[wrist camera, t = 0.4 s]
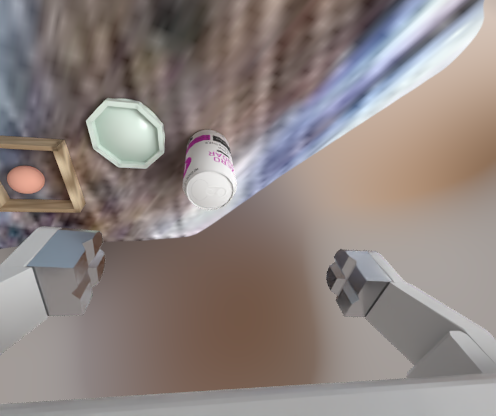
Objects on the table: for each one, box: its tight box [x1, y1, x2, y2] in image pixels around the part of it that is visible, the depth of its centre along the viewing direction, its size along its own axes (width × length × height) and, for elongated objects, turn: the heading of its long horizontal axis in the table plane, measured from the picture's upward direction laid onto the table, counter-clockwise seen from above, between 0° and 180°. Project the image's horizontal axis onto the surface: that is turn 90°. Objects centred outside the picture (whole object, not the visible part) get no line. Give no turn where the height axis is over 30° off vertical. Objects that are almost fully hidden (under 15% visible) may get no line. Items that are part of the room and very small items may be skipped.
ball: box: [7, 166, 45, 194], centre depth 44 cm, size 5×5×5 cm
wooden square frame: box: [0, 136, 86, 212], centre depth 44 cm, size 14×14×3 cm
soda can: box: [183, 130, 237, 210], centre depth 42 cm, size 8×8×15 cm
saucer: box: [86, 98, 165, 169], centre depth 43 cm, size 12×12×2 cm
